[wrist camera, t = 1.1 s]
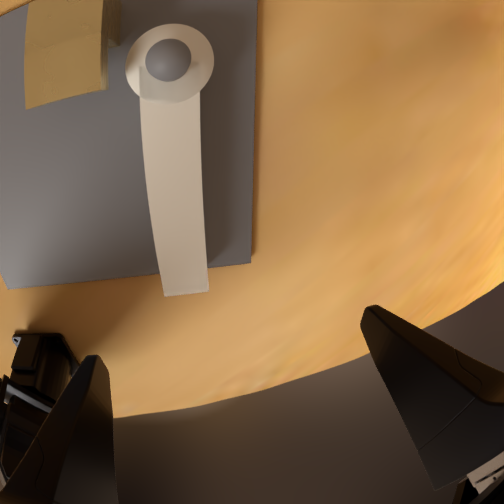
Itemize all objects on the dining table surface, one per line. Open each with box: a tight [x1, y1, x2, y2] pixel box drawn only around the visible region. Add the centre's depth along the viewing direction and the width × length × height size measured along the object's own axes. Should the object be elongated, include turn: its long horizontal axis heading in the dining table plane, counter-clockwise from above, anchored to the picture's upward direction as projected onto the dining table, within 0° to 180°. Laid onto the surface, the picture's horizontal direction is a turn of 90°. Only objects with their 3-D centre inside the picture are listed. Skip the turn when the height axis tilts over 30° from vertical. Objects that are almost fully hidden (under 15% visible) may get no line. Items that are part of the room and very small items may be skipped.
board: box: [0, 0, 257, 289], centre depth 15 cm, size 21×21×1 cm
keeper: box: [24, 0, 122, 110], centre depth 10 cm, size 6×4×5 cm
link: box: [125, 24, 214, 297], centre depth 15 cm, size 16×4×4 cm, turn 179°
